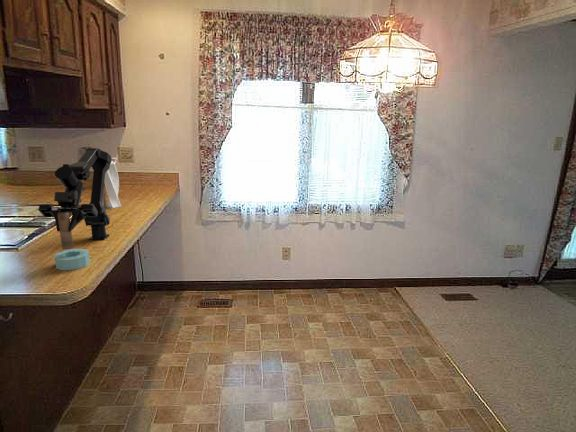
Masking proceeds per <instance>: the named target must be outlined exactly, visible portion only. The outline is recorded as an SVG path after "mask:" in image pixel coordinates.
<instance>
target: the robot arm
mask: <svg viewBox="0 0 576 432" xmlns="http://www.w3.org/2000/svg"><path fill="white" fill-rule="evenodd" d="M111 158H112V155H110V154H109V153H108V152H106V151H104V150H101V149H100V148H97V147H88V148H86V149H85V152H84V153H83V155H82V156H81V157H80V159H79V160H78V161H77V162H74V163H71V164H68V163H66V164H65V163H64V164H62V166H59V167H58V168H57V169H56V170H55V171H54V176H55V177H56V179H57V180H58V182H59V184H61V185H62V186H63V187H64V191H54V198H53V199H54V200H53V201H54V202H57V205H58V206H54V205H53V204H52V203H40V204H39V205H38V209H37V211H39V213H40V214H41V215H42V216H43V217H44V218H53V219H54V221H55V227H56V231H57V232H58V233H60V229H59V222H58V215H57V214H58V213H61V212H69V214H71V219H70V225H69V231H70V232H72V231H73V230H74V229H75V228H76V226H77V225H78V224H79V223H81V221H83V220H84V223H85V226H86V227H89V226H90V228H91V236H90V237H89V238H88V240H94V241H96V240H97V241H98V240H99V241H101V240H103V241H104V240H105V239H107V238H108V237H110V234H109V233H107V229H106V226H109V225H110V224H111V223H110V221H111V220H110V217H109V215H108V214H107V210H106V209H107V208H104V205H103V192H104V193H105V173H106V172H107V170H108V169H109V168H110V163H111V161H113V160H112V159H111ZM91 168H92V170H93V173H92V184H91V185H92V186H91V193H90V202H89V203H82V202H83V201H82V199H81V198H82V193H83V191H85V185H84V183H83V182H84V181H87V180H89V178H90V177H91V171H90V169H91ZM82 181H83V182H82ZM80 203H82V204H81V205H80ZM80 206H81V207H80Z"/></svg>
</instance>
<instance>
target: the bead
mask: <svg viewBox="0 0 576 432" xmlns="http://www.w3.org/2000/svg"><path fill="white" fill-rule="evenodd" d="M54 262H55V263H54V264H55V269H56V270H57V269H58V270H60V271H74V270H79V269H82V268H85V267H87V266H89V265H90V264H91V260H90V253H89V250H87V249H85V248H73V249H72V248H71V249H64V250H62V251H59V252H58V253H56V254H54Z"/></svg>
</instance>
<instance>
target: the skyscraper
mask: <svg viewBox="0 0 576 432" xmlns="http://www.w3.org/2000/svg"><path fill="white" fill-rule="evenodd" d="M111 159H114V160H115V161H113V160H112V161H111V163H110V168H109V169H108V170H107V172H106V173H105V181H104V188H105V190H106V192H105V191H104V192H103V206H104V208H105V209H107V210H114V209H118V208H122V205H121V202H120V199H119V190H120V178H119V173H118V169H117V166H116V163H117V157H111ZM106 194H107V197H108V199H106Z"/></svg>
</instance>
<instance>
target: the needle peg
mask: <svg viewBox="0 0 576 432" xmlns="http://www.w3.org/2000/svg"><path fill="white" fill-rule="evenodd" d="M57 215H58V222H59V229H60V231H59V234H60V242H61V248H62V250H71V249H72V248H73V249H74V242H73V234H72V231H71V232H70V231H69V225H70V222H71V219H70V213H69V212H61V213H58V214H57Z"/></svg>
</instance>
